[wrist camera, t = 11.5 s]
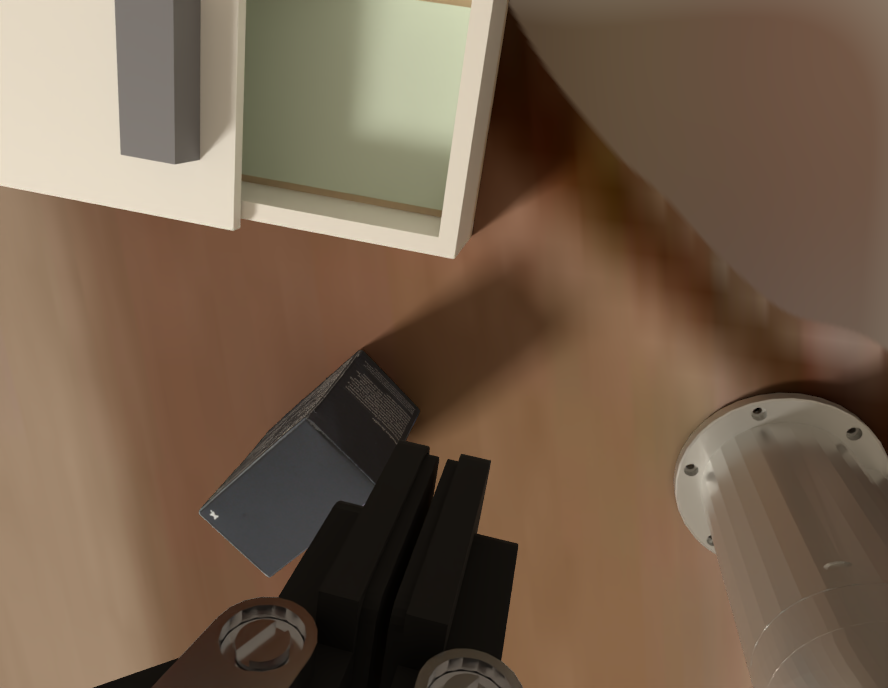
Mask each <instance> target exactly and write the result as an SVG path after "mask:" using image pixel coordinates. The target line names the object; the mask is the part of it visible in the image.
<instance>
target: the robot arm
mask: <svg viewBox="0 0 888 688" xmlns="http://www.w3.org/2000/svg"><path fill="white" fill-rule="evenodd" d="M756 408H760V409H759V410H757V411H753V410H754V409H756ZM851 428H852V429H851ZM849 429H851V430H849ZM429 450H430V448H429V446H425V445H421V444H416V443H412V442H408V441H403V440H399V441H398V443H397V445H396V447H395V448H394V450H393V452H392V454H391V456H390V458H389V460H388V462H387V463H386V465H385V467H384V469H383V471H382V473H381V475H380V477H379V478H378V480H377V482H376V484H375V486H374V488H373V490H372V492H371V493H370V495H369V497H368V499H367V501H366V503H365V505H364V506H361V505H357V504H353V503H349V502H345V501H337V502H336V504H335V505H334V506H333V508H332V509H331V511H330V513H329V514H328V516H327V518H326V519H325V521H324V523H323V524H322V526H321V528H320V529H319V531H318V532H317V534H316V536H315V537H314V539H313V541H312V542H311V544H310V546H309V547H308V549H307V551H306V552H305V554H304V556H303V557H302V559H301V561H300V562H299V564H298V566H297V567H296V569H295V570H294V572H293V574H292V575H291V577H290V579H289V580H288V582H287V584H286V585H285V587H284V589H283V590H282V592H281V594H280V595H279V597H258V598H254V599H249V600H244V601H242V602H240V603H238V604H236V605H234V606H231V607H230V608H228V609H227V610H226V611H225V612H223V613H222V614H221V615H220V616H218V617H217V618H216V619H215V620H214V621H213V623H212V624H211V625H210V626H209V627H208V628H207V629H206V630H205V631H204V632H203V633H202V634H201V635H200V636H199V637H198V638H197V640H196V641H195V642H194V643H193V644H192V645H191V646H190V647H189V648H188V649H187V650H186V651H185V652H184V653H183V654H182V655H181V657H180V658H177V659H174V660H171V661H169V662H166V663H163V664H160V665H157V666H154V667H151V668H149V669H146V670H143V671H140V672H137V673H134V674H131V675H128V676H126V677H123V678H120V679H117V680H114V681H111V682H108V683H105V684H103V685H100V686H97V687H94V688H523V687H522V685H521V683H520V682H519V680H518V678H517V677H516V675H515V673H514V672H513V671H512V670H511V669H510V668H508V667H507V666H506V665H505V664H504V663H503V662H502V661H501V658H502V651H503V645H504V638H505V631H506V624H507V618H508V611H509V604H510V598H511V591H512V584H513V578H514V571H515V564H516V558H517V551H518V544H517V543H513V542H509V541H505V540H500V539H496V538H492V537H488V536H484V535H480V534H477V530H478V525H479V520H480V515H481V510H482V505H483V500H484V495H485V489H486V484H487V479H488V474H489V469H490V463H491V460H486V459H482V458H477V457H473V456H469V455H464V454H461V456H460V458H459V461H454V460H450V459H448V460H447V462H446V465H445V467H444V470H443V473H442V475H441V478H440V481H439V483H438V486H437V489H436V491H435V494H434V489H435V482H436V476H437V470H438V464H439V457H437V456H433V455H429ZM689 464H692V465H691V466H687V465H689ZM674 491H675V498H676V502H677V506H678V510H679V512H680V515H681V517H682V519H683V521H684V523H685V525H686V526H687V528H688V529H689V531H690V532H691V533H692V535H693V536H694V537H695V538H696V539H697V540H698V541H699V542H700V543H701V544H702V545H703V546H704V547H705V548H707V549H708V550H710V551H711V552H713V553H714V554H716V555H717V559H718V562H719V566H720V569H721V573H722V577H723V580H724V584H725V587H726V591H727V595H728V598H729V602H730V606H731V609H732V613H733V616H734V620H735V624H736V627H737V631H738V634H739V638H740V642H741V645H742V649H743V652H744V656H745V660H746V663H747V667H748V670H749V674H750V678H751V681H752V684H753V688H888V456H887V454H886V452H885V450H884V448H883V446H882V444H881V442H880V441H879V440H878V438H877V437H876V436H875V434H874V433H873V432H872V431H871V429H870V428H869V427H868V426H867V425H866V424H865V423H864V422H863V421H861V420H860V419H859V418H858V417H857V416H856V415H855V414H853V413H851V412H850V411H848V410H847V409H845V408H844V407H842V406H840V405H838V404H836V403H833V402H831V401H828V400H825V399H823V398H820V397H815V396H810V395H805V394H800V393H772V394H764V395H757V396H754V397H750V398H747V399H743V400H740V401H737V402H735V403H733V404H731V405H729V406H727V407H724V408H722V409H720V410H719V411H717V412H716V413H714V414H713V415H712V416H710V417H709V418H707V419H706V420H705V421H703V422H702V423H701V424H700V425H699V426H698V427H697V429H696V430H695V431H694V432H693V433H692V434H691V435H690V437H689V438H688V440H687V441H686V443H685V444H684V446H683V447H682V449H681V452H680V454H679V457H678V460H677V462H676V466H675V473H674ZM433 495H434V497H433Z"/></svg>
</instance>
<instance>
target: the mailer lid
mask: <svg viewBox="0 0 888 688" xmlns="http://www.w3.org/2000/svg"><path fill="white" fill-rule="evenodd" d="M245 29H246V0H0V186H6V187H11V188H16V189H21V190H26V191H31V192H37V193H42V194H47V195H52V196H57V197H62V198H67V199H73V200H78V201H83V202H88V203H93V204H98V205H104V206H109V207H114V208H119V209H124V210H129V211H135V212H140V213H145V214H150V215H155V216H160V217H166V218H171V219H176V220H181V221H186V222H191V223H196V224H202V225H207V226H212V227H217V228H222V229H227V230H233V231H234V230H236V229H239V228H240V215H241V178H242V141H243V104H244V67H245Z"/></svg>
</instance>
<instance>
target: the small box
mask: <svg viewBox="0 0 888 688" xmlns="http://www.w3.org/2000/svg"><path fill="white" fill-rule="evenodd" d="M419 412H420V410H419V409H418V407H417V406H416V405H415V404H414V403H413V402H412V401H411V400H410V399H409V398H408V397H407V396H406V395H405V394H404V393H403V392H402V390H401V389H400V388H399V387H398V386H397V385H396V384H395V383H394V382H393V381H392V380H391V379H390V378H389V377H388V376H387V375H386V374H385V373H384V372H383V371H382V370H381V369H380V368H379V366H378V365H377V364H376V363H375V362H374V361H373V360H372V359H371V358H370V357H369V356H368V355H367V354H366V353H365V352H364V351H363V350H359V351H357V352H356V353H355V354H354V355H353V356H352V357H351V358H349V359H348V360H347V361H346V362H345V363H344V364H343V365H342V366H340V367H339V368H338V369H337V370H336V371H335V372H334V373H333V374H331V375H330V376H329V377H327V378H326V380H325V381H324V382H322V383H321V384H320V385H319V386H318V387H317V388H316V389H315V390H314V391H312V392H311V393H310V394H309V395H308V396H307V397H305V398H304V399H303V400H301V401H300V403H299V404H297V405H296V406H295V407H294V408H293V409H292V410H291V411H289V412H288V413H287V414H286V415H285V416H284V417H283V418H282V419H281V420H280V421H279V422H278V423H277V424H276V425H275V426H274V427H272V428H271V429H270V430H269V431H268V432H267V433H266V435H265V436H264V437H263V438H262V439H261V440H260V442H259V443H258V444H257V445H256V447H255V448H254V449H253V450H252V452H251V453H250V454H249V455H248V456H247V457H246V458H245V460H244V461H243V462H242V463H241V464H240V466H239V467H238V468H236V469H235V470H234V472H233V473H232V474H231V475H230V476H229V477H228V478H227V480H226V481H225V482H224V483H223V484H222V485H221V486H220V487H219V488H218V490H217V491H216V492H215V493H214V494H213V495H212V496H211V497H210V498H209V500H208V501H207V502H206V503H205V504H204V505H203V506H202V508H201V509H200V510H199V515H200V516H202V517H203V518H204V519H205V520H206V521H207V522H208V523H209V524H210V525H212V526H213V527H214V528H215V529H216V530H217V531H218V532H219V533H220V534H221V535H222V536H223V537H224V538H226V539H227V540H228V541H229V542H230V543H231V544H232V545H233V546H234V547H235V548H237V549H238V550H239V551H240V552H241V553H242V554H243V555H244V556H245V557H246V558H247V559H248V560H250V561H251V562H252V563H253V564H254V565H255V566H256V567H257V568H258V569H260V570H261V571H262V572H263V573H264V574H265V575H266V576H267V577H271V576H273V575H274V574H275V573H277V572H278V571H279V570H281V569H282V568H283V567H284V566H286V565H287V564H288V563H289V562H291V561H292V560H293V559H295V558H296V557H297V556H298V555H300V554H301V553H302V552H304V551H305V550H306V549H307V548H308V547H309V546H310V544H311V542H312V541H313V539H314V537H315V536H316V534H317V532H318V531H319V529H320V528H321V526H322V524H323V523H324V521H325V519H326V518H327V516H328V514H329V513H330V511H331V509H332V508H333V506H334V505H335V504H336V502H337V501H345V502H349V503H353V504H357V505H361V506H364V505H365V503H366V501H367V499H368V497H369V495H370V493H371V492H372V490H373V488H374V486H375V484H376V482H377V480H378V478H379V477H380V475H381V473H382V471H383V469H384V467H385V465H386V463H387V462H388V460H389V458H390V456H391V454H392V452H393V450H394V448H395V447H396V445H397V443H398V441H399V440H403V441H406V439H407V437H408V435H409V433H410V431H411V429H412V427H413V425H414V423H415V421H416V419H417V417H418V415H419Z"/></svg>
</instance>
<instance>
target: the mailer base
mask: <svg viewBox="0 0 888 688" xmlns="http://www.w3.org/2000/svg"><path fill="white" fill-rule="evenodd" d="M508 5H509V0H246V29H245V67H244V104H243V141H242V178H241V215H240V218H242V219H247V220H253V221H258V222H263V223H268V224H274V225H279V226H284V227H289V228H295V229H300V230H305V231H310V232H316V233H321V234H326V235H331V236H336V237H342V238H347V239H352V240H357V241H363V242H368V243H373V244H378V245H384V246H389V247H394V248H399V249H405V250H410V251H415V252H420V253H425V254H431V255H436V256H441V257H446V258H452V259H454V258H455V257H456V256H457V255H458V253H459V252H460V251H461V249H462V248H463V247H464V245H465V244H466V243H467V242H468V240H469V239H470V238H471V236H472V230H473V224H474V218H475V212H476V205H477V199H478V193H479V186H480V180H481V174H482V168H483V161H484V155H485V149H486V143H487V136H488V130H489V124H490V118H491V111H492V105H493V99H494V93H495V86H496V80H497V74H498V68H499V61H500V55H501V49H502V42H503V36H504V30H505V24H506V17H507V11H508Z"/></svg>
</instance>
